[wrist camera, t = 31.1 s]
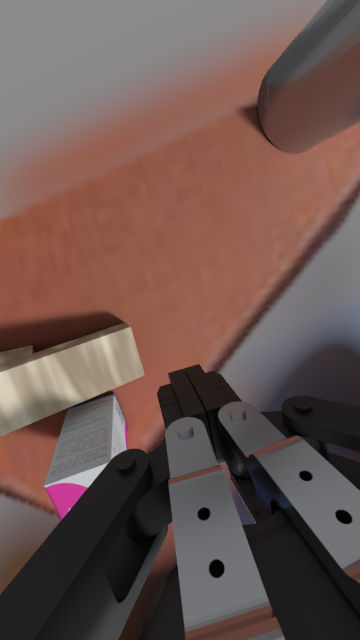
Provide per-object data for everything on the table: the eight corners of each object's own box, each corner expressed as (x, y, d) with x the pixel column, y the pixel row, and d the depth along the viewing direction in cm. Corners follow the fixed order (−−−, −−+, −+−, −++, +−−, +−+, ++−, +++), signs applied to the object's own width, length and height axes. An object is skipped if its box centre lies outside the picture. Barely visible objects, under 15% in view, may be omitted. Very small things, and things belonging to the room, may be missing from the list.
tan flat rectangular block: (130, 326, 29) (-31, 383, 24) (144, 375, 31) (-3, 437, 26) (124, 322, 31) (-25, 373, 26) (138, 368, 33) (1, 424, 28)
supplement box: (65, 407, 32) (41, 485, 22) (114, 391, 33) (114, 457, 23) (82, 446, 34) (67, 536, 23) (128, 429, 35) (134, 509, 24)
